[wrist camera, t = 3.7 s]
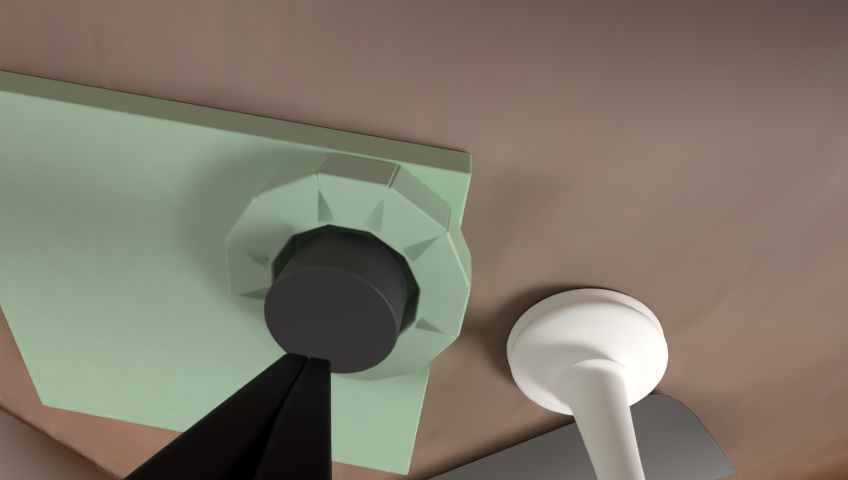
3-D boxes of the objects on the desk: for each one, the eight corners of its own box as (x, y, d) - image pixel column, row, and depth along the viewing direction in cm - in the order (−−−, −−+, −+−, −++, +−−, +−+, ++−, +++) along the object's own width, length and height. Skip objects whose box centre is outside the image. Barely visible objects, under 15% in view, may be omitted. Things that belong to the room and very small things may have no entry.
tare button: (415, 243, 10) (406, 281, 9) (400, 340, 12) (390, 385, 10) (288, 220, 10) (259, 254, 9) (289, 319, 12) (265, 361, 10)
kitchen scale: (489, 156, 12) (492, 202, 9) (424, 440, 18) (414, 517, 15) (-34, 63, 12) (-176, 83, 9) (75, 373, 18) (7, 438, 15)
